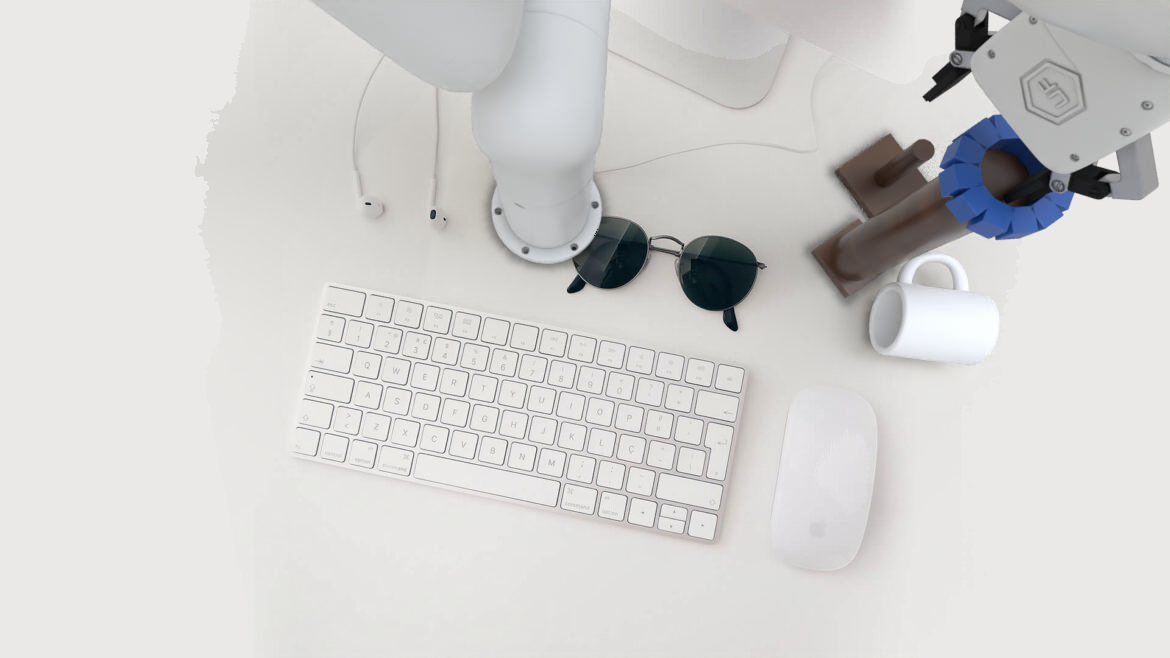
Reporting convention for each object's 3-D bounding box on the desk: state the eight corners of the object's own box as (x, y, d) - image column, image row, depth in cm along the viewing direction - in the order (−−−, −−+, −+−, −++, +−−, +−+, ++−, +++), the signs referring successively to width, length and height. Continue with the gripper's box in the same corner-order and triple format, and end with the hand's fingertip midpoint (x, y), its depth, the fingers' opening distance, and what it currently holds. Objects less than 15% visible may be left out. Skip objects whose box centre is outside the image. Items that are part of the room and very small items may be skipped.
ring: (915, 166, 48) (930, 155, 46) (1004, 104, 49) (1023, 91, 47) (989, 262, 48) (1008, 256, 46) (1079, 197, 49) (1101, 188, 47)
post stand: (834, 171, 75) (871, 139, 66) (886, 136, 75) (929, 99, 67) (875, 226, 74) (918, 200, 65) (927, 189, 75) (976, 159, 66)
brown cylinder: (810, 252, 73) (938, 170, 48) (854, 221, 74) (1002, 125, 49) (844, 298, 73) (991, 239, 48) (888, 267, 73) (1056, 193, 49)
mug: (951, 368, 72) (999, 362, 64) (866, 357, 72) (903, 350, 64) (955, 267, 74) (1003, 249, 66) (872, 256, 73) (909, 237, 66)
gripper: (1036, -104, 31) (870, 77, 48) (1266, 171, 30) (1011, 258, 47) (1146, -176, 32) (945, 27, 49) (1376, 89, 31) (1086, 204, 48)
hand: (977, 140), depth 48 cm, fingers open, 9 cm apart
